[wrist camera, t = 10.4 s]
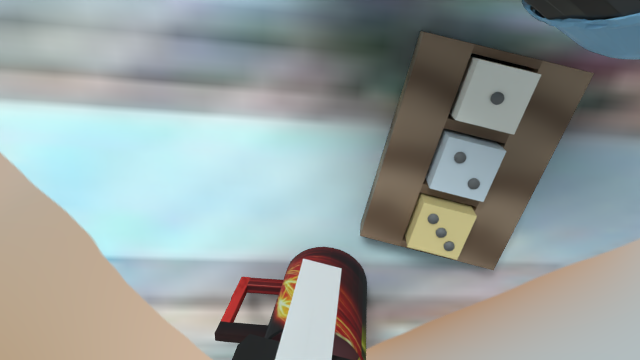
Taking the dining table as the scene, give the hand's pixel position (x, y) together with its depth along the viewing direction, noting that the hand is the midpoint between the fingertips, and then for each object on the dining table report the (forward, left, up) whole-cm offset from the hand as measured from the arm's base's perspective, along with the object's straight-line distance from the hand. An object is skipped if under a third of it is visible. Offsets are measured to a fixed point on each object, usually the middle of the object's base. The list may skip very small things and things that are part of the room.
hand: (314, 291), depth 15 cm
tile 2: (-6, +11, -24) cm, 27 cm away
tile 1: (+6, +11, -24) cm, 27 cm away
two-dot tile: (0, +11, -24) cm, 26 cm away
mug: (+20, 0, -25) cm, 32 cm away
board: (0, +11, -24) cm, 27 cm away
